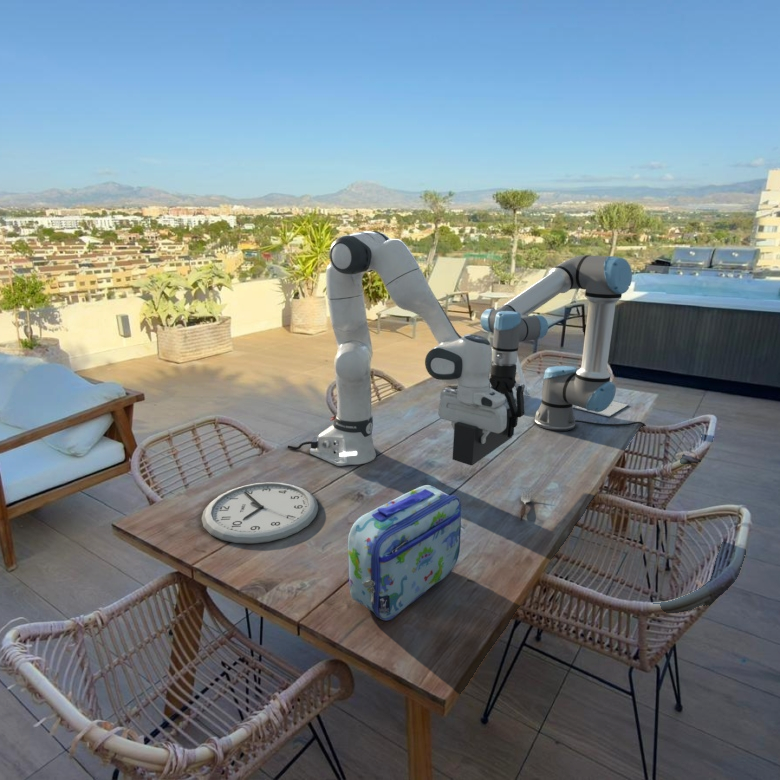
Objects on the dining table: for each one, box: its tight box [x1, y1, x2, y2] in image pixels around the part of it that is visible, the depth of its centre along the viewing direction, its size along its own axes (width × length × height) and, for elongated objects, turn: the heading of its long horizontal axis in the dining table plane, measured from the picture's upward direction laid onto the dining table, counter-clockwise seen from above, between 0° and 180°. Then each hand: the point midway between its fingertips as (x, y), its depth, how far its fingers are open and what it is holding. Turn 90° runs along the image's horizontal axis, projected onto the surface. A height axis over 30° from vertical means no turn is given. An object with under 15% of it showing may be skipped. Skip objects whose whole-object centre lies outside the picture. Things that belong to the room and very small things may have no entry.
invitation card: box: [573, 400, 629, 418], centre depth 226 cm, size 21×1×15 cm
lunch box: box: [347, 484, 462, 621], centre depth 107 cm, size 26×11×21 cm, turn 134°
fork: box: [520, 488, 533, 521], centre depth 143 cm, size 3×16×2 cm, turn 160°
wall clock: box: [201, 481, 319, 544], centre depth 139 cm, size 30×2×30 cm
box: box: [452, 402, 513, 466], centre depth 157 cm, size 26×6×11 cm, turn 143°
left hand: (469, 439), depth 150 cm, fingers closed on box, 6 cm apart
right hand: (498, 432), depth 165 cm, fingers open, 8 cm apart
